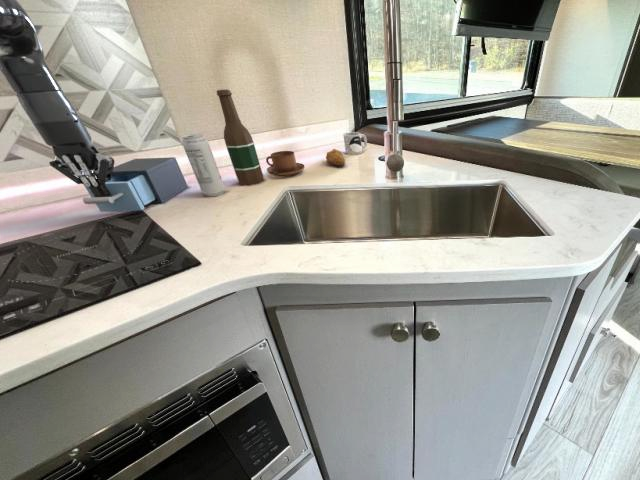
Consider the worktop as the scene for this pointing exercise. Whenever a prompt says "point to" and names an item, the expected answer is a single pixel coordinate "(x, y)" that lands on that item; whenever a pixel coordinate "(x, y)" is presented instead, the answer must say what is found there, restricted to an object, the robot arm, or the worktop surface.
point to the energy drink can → (203, 164)
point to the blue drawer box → (157, 176)
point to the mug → (354, 142)
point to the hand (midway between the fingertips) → (106, 201)
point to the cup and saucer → (283, 164)
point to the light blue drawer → (124, 194)
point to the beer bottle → (239, 143)
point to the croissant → (336, 158)
